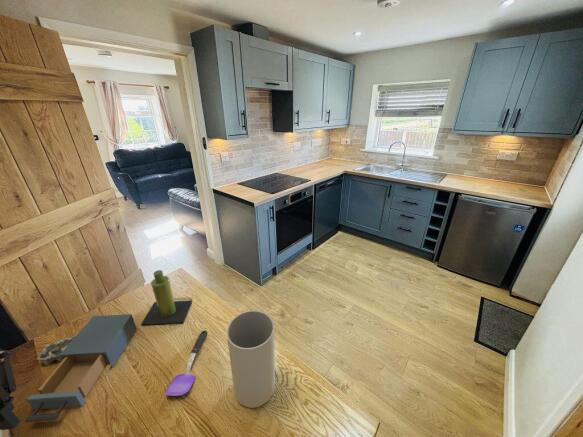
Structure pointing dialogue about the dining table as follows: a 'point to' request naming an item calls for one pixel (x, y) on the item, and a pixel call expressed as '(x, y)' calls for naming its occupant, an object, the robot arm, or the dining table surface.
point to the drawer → (66, 385)
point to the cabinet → (103, 337)
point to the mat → (176, 318)
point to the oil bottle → (163, 294)
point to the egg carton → (54, 350)
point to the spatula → (185, 381)
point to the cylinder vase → (252, 357)
